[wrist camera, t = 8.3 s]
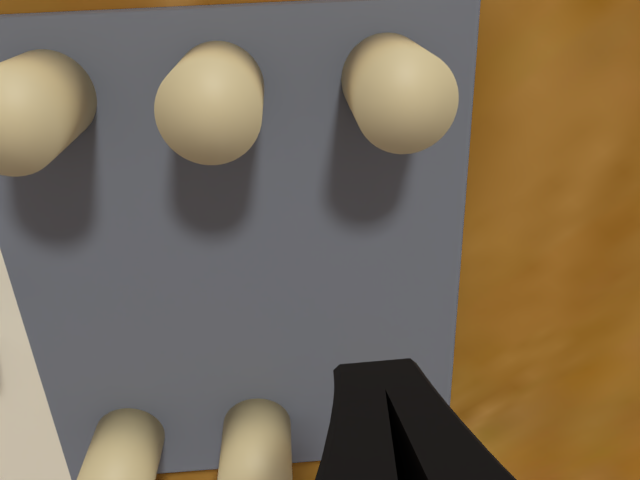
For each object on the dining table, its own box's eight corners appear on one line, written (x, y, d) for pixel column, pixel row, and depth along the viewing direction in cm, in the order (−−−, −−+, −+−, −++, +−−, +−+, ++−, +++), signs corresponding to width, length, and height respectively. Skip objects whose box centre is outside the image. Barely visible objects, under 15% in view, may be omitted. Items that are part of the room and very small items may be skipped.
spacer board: (439, 430, 23) (469, 518, 20) (-108, 474, 22) (-181, 573, 19) (469, -7, 16) (524, 4, 13) (-327, 29, 15) (-510, 53, 12)
